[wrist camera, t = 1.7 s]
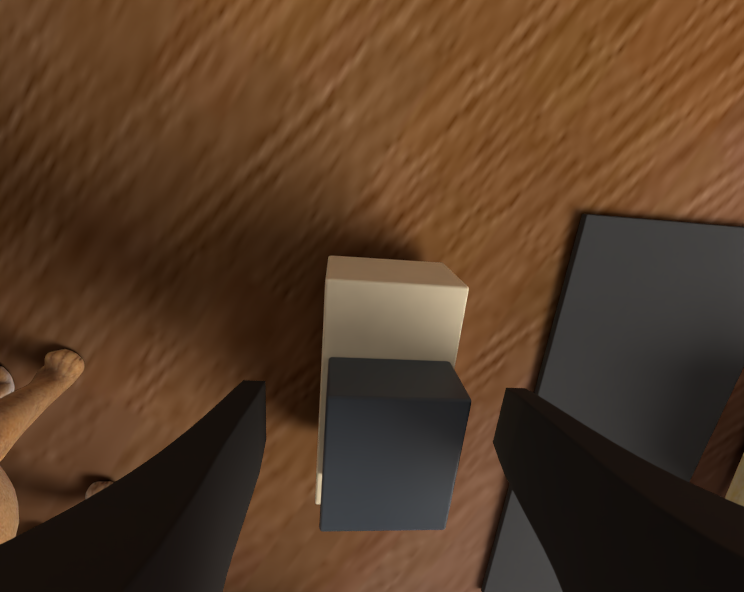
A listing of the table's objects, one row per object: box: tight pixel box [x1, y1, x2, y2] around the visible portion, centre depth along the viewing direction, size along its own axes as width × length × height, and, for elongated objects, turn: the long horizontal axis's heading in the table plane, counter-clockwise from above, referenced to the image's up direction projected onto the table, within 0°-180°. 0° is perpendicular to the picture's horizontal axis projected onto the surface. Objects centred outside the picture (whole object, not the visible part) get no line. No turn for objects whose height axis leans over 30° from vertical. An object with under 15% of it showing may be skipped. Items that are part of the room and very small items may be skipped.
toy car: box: [315, 256, 471, 531], centre depth 12 cm, size 8×4×5 cm, turn 175°
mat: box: [481, 214, 744, 592], centre depth 17 cm, size 20×9×1 cm, turn 175°
